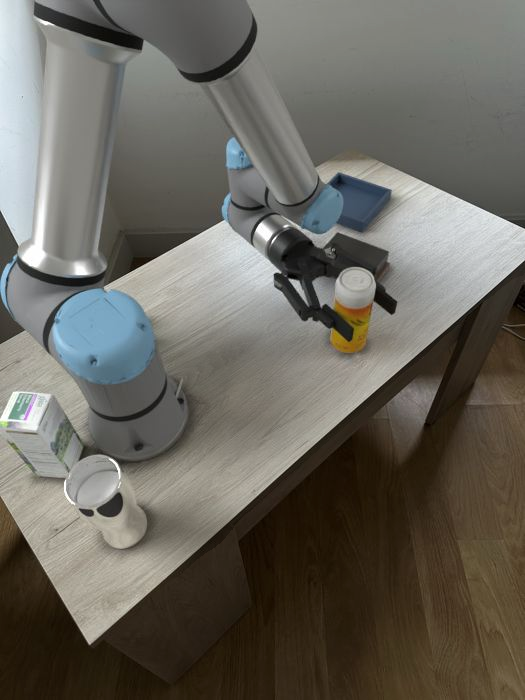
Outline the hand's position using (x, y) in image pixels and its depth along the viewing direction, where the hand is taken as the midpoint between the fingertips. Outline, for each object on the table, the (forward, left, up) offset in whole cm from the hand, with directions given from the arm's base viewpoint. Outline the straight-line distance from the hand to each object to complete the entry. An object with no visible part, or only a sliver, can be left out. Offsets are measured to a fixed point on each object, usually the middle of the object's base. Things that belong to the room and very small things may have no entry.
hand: (373, 321), depth 80 cm
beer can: (-4, +2, -10) cm, 11 cm away
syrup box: (-29, -41, -10) cm, 52 cm away
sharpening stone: (-12, +19, -10) cm, 24 cm away
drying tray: (-22, +36, -10) cm, 43 cm away
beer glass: (-14, -43, -10) cm, 47 cm away
